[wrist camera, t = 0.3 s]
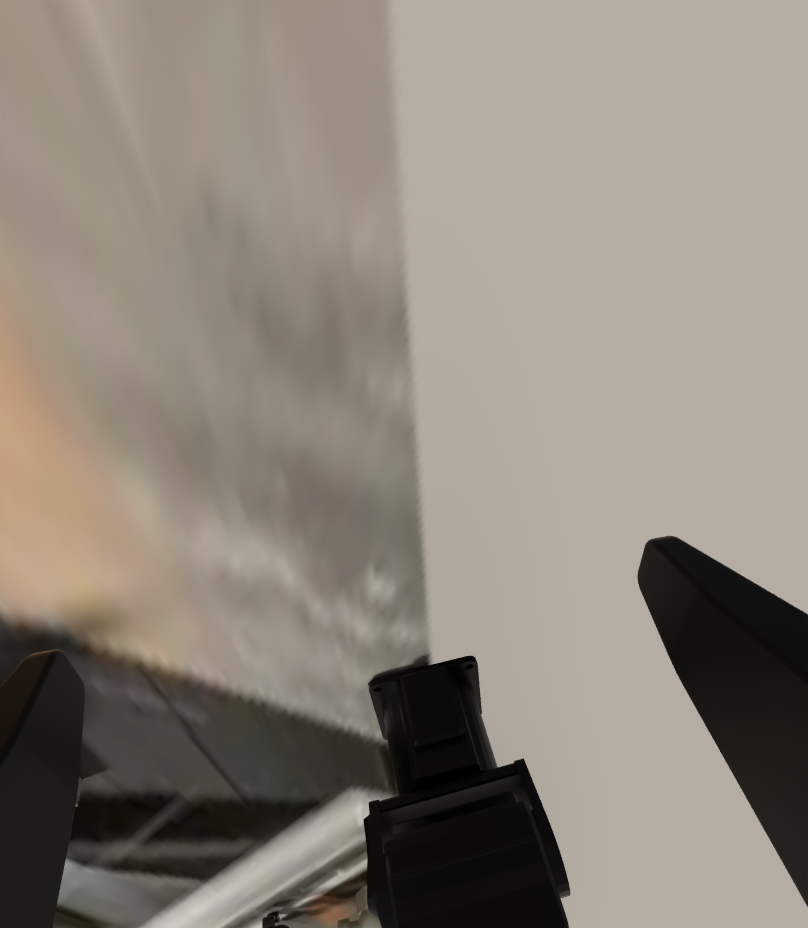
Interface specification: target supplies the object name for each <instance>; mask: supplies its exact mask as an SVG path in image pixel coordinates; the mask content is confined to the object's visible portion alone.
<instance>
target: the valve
mask: <svg viewBox="0 0 808 928" xmlns="http://www.w3.org/2000/svg"><path fill="white" fill-rule="evenodd" d="M355 898H356V907H357V914H358V915H360V917H359V919H358V920H357V921H353V922H350V919H349V918H346V919H342V920H338V924H337V926H338V928H382V927H381V924H380V921H379V920H378V919H377V918H376V917H374V916H373V915H372V914H371V913H369V910H368V905H367V885H365V886H363V887H362V888H361V889H360V890H359V891H358V892H357V893H356V894H355ZM277 922H280V917H279V913H278V912H276V913H272V914H268V915H267V917H265V918H263V922H262V926H263V928H289V927H288V926H286V925H278V926H275V923H277Z"/></svg>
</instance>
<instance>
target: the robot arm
mask: <svg viewBox="0 0 808 928" xmlns="http://www.w3.org/2000/svg"><path fill="white" fill-rule="evenodd" d="M638 584H639V587H640V590H641V592H642V595H643V597H644V599H645V602H646V604H647V606H648V609H649V611H650V613H651V616H652V618H653V620H654V623H655V625H656V627H657V630H658V632H659V634H660V637H661V639H662V641H663V643H664V646H665V648H666V650H667V653H668V655H669V658H670V660H671V662H672V664H673V666H674V668H675V670H676V673H677V674H678V676H679V678H680V680H681V682H682V684H683V686H684V688H685V689H686V691H687V693H688V695H689V697H690V698H691V700H692V702H693V704H694V705H695V707H696V709H697V711H698V713H699V714H700V716H701V718H702V719H703V721H704V723H705V725H706V727H707V729H708V730H709V732H710V734H711V736H712V738H713V739H714V741H715V743H716V744H717V746H718V748H719V750H720V752H721V753H722V755H723V757H724V759H725V761H726V762H727V764H728V766H729V768H730V770H731V771H732V773H733V775H734V777H735V778H736V780H737V782H738V784H739V785H740V787H741V789H742V791H743V793H744V794H745V796H746V798H747V800H748V802H749V803H750V805H751V807H752V809H753V810H754V812H755V814H756V816H757V818H758V819H759V821H760V823H761V825H762V826H763V828H764V830H765V832H766V834H767V835H768V837H769V839H770V841H771V842H772V844H773V846H774V848H775V850H776V851H777V853H778V855H779V857H780V859H781V860H782V862H783V864H784V865H785V867H786V869H787V871H788V873H789V875H790V876H791V878H792V880H793V882H794V883H795V885H796V887H797V889H798V891H799V892H800V894H801V896H802V898H803V899H804V901H805V903H806V905H807V906H808V614H806V613H805V612H803V611H801V610H800V609H798V608H796V607H794V606H793V605H791V604H789V603H787V602H786V601H784V600H782V599H781V598H779V597H777V596H776V595H774V594H772V593H771V592H769V591H767V590H765V589H764V588H762V587H760V586H759V585H757V584H755V583H754V582H752V581H750V580H749V579H747V578H745V577H743V576H742V575H740V574H738V573H737V572H735V571H733V570H732V569H730V568H728V567H726V566H725V565H723V564H721V563H720V562H718V561H716V560H714V559H713V558H711V557H709V556H708V555H706V554H704V553H703V552H701V551H699V550H698V549H696V548H694V547H692V546H691V545H689V544H687V543H686V542H684V541H682V540H681V539H679V538H677V537H673V536H666V537H660V538H655V539H651V540H649V541H648V542H647V543H646V545H645V548H644V552H643V556H642V559H641V563H640V567H639V570H638ZM368 686H369V692H370V695H371V699H372V702H373V705H374V709H375V712H376V715H377V719H378V722H379V725H380V729H381V732H382V735H383V738H384V739H385V740H388V745H389V751H390V757H391V762H392V768H393V774H394V779H395V785H396V791H397V796H396V797H392V798H389V799H385V800H382V801H379V800H375V801H371V802H369V813H370V815H368V816H367V817H366V818H365V819H364V828H365V836H366V844H367V858H368V862H367V905H368V910H369V913H371V914H372V915H373V916H374V917H376V918H377V919H378V920H379V921H380V924H381V927H382V928H569V926H568V921H567V918H566V914H565V911H564V908H563V905H562V902H561V899H560V898H564V897H567V896H570V888H569V882H568V878H567V875H566V871H565V867H564V864H563V860H562V857H561V854H560V851H559V848H558V845H557V842H556V839H555V836H554V834H553V831H552V828H551V825H550V823H549V820H548V818H547V815H546V813H545V811H544V808H543V806H542V803H541V800H540V798H539V795H538V793H537V790H536V788H535V786H534V783H533V781H532V778H531V776H530V773H529V771H528V768H527V766H526V763H525V761H524V759H520V760H516V761H514V763H513V764H509V765H506V766H502V767H499V768H498V767H497V765H496V761H495V758H494V755H493V752H492V748H491V745H490V742H489V739H488V736H487V733H486V729H485V726H484V723H483V720H482V717H481V714H482V710H481V698H480V688H479V675H478V665H477V661H476V659H475V657H474V656H465V657H462V658H457V659H453V660H449V661H445V662H441V663H437V664H433V665H429V666H425V667H421V668H417V669H413V670H408V671H404V672H400V673H396V674H392V675H388V676H384V677H380V678H376V679H373V680H371V681H370V682H369V683H368ZM84 708H85V686H84V683H83V680H82V678H81V677H80V675H79V674H78V672H77V671H76V669H75V668H74V666H73V665H72V663H71V662H70V660H69V659H68V657H67V656H66V654H65V653H64V652H63V651H61V650H59V649H54V650H49V651H44V652H38V653H34V654H31V655H29V656H28V657H26V658H25V659H24V660H23V661H22V662H21V663H20V664H19V666H18V667H17V668H16V669H15V670H14V671H13V672H12V674H11V675H10V676H9V677H8V678H7V679H6V680H5V682H4V683H3V684H2V685H1V686H0V928H52V926H53V921H54V916H55V911H56V906H57V901H58V895H59V890H60V885H61V880H62V875H63V870H64V865H65V860H66V855H67V849H68V844H69V839H70V834H71V829H72V824H73V819H74V813H75V807H76V801H77V792H78V783H79V770H80V758H81V746H82V733H83V721H84Z"/></svg>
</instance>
